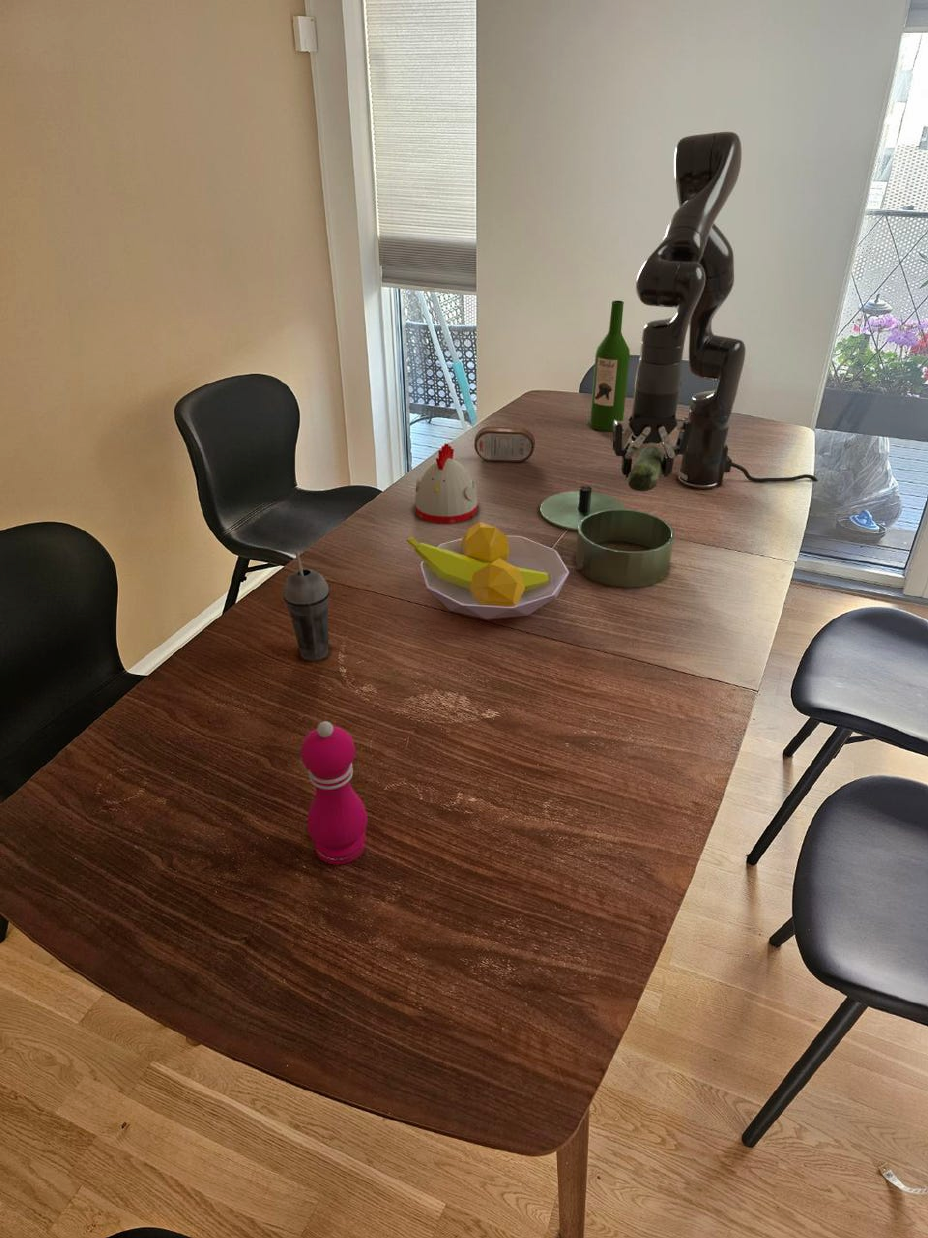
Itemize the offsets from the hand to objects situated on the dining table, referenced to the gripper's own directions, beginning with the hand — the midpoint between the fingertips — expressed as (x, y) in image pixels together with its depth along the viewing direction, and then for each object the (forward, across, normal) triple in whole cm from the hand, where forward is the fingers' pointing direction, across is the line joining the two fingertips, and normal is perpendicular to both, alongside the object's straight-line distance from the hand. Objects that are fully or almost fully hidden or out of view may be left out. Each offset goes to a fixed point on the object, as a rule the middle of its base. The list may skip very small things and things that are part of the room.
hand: (645, 475), depth 147 cm
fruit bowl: (+19, +29, +10) cm, 36 cm away
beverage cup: (+19, +60, +26) cm, 68 cm away
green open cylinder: (+19, +2, 0) cm, 19 cm away
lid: (+18, +6, -22) cm, 29 cm away
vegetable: (+1, 0, 0) cm, 1 cm away
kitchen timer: (+19, +36, -26) cm, 49 cm away
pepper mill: (+19, +52, +68) cm, 87 cm away
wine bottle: (+19, -9, -76) cm, 79 cm away
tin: (+19, +21, -53) cm, 60 cm away
